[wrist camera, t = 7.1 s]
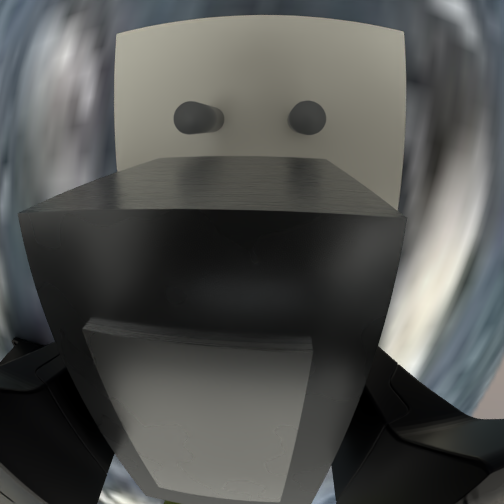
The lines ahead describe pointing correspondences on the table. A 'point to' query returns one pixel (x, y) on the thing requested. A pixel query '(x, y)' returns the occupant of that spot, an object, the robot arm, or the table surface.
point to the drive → (218, 316)
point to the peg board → (265, 93)
